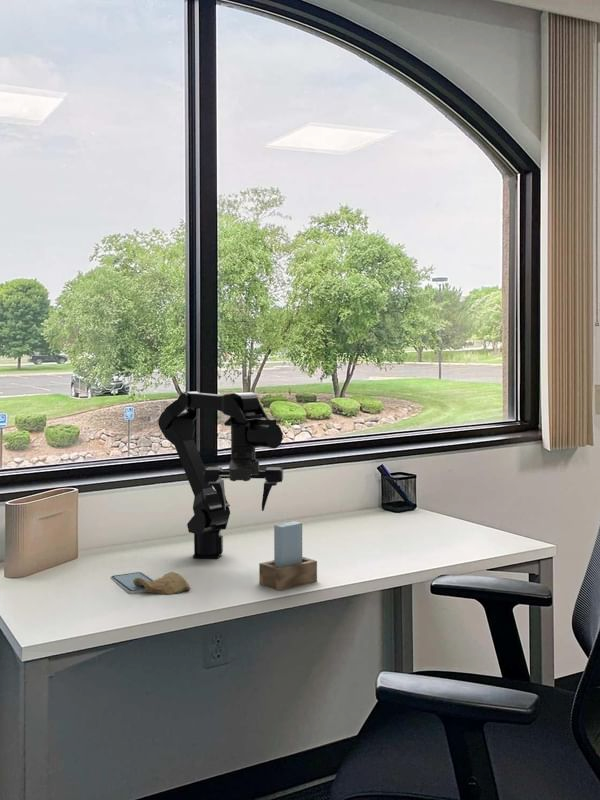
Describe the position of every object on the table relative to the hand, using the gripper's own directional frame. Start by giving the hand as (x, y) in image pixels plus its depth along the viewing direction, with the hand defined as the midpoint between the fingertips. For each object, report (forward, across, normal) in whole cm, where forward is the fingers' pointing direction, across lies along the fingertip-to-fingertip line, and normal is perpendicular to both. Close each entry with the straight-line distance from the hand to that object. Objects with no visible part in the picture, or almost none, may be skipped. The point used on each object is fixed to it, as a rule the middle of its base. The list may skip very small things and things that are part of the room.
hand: (243, 510), depth 188 cm
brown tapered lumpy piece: (+14, -15, -20) cm, 29 cm away
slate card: (+13, +12, -14) cm, 23 cm away
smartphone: (+14, -22, -16) cm, 31 cm away
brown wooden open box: (+13, +11, -14) cm, 23 cm away
